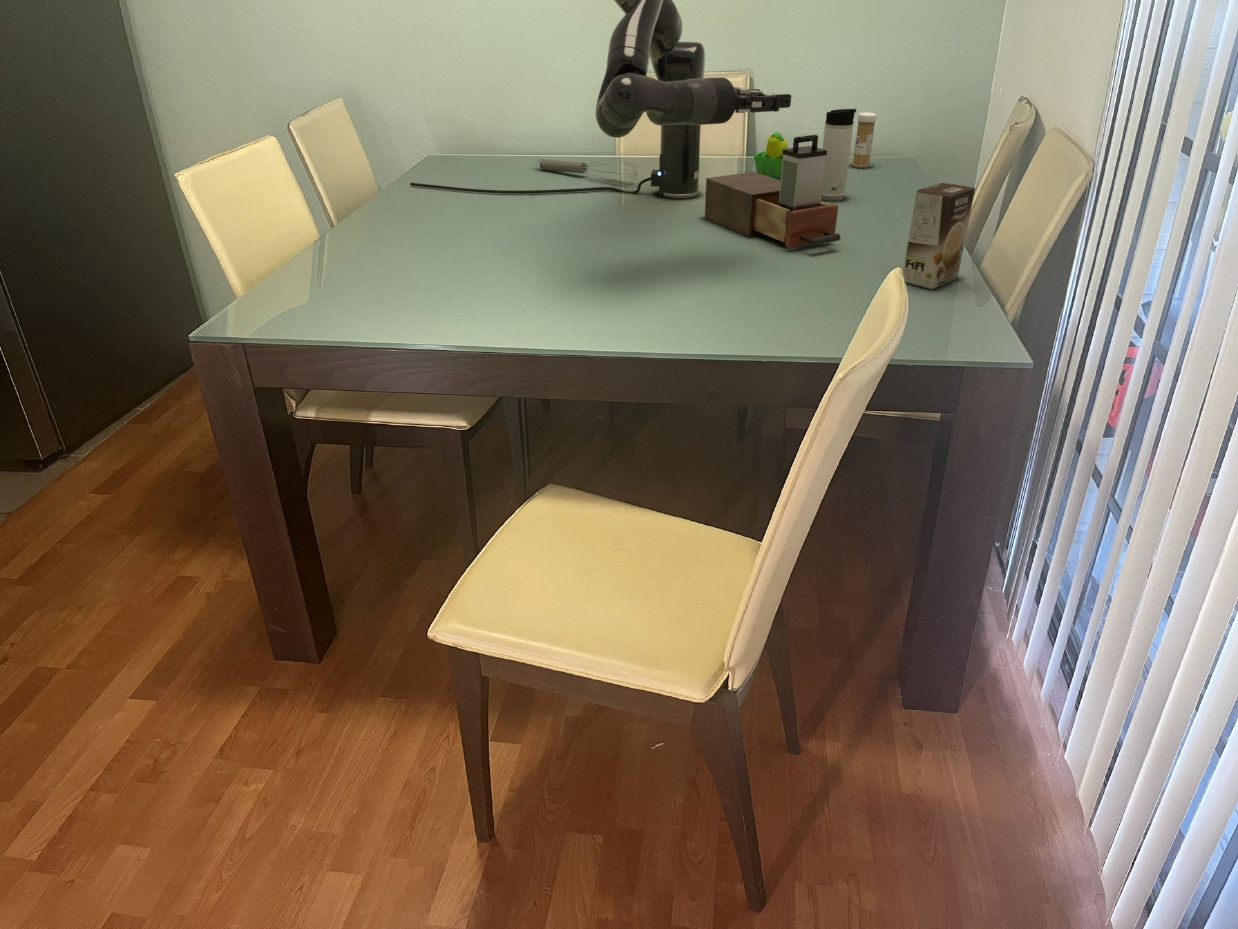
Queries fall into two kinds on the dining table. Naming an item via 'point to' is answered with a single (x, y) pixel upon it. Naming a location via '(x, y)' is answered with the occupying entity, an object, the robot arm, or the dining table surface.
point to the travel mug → (837, 153)
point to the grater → (802, 175)
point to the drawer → (795, 222)
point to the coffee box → (937, 234)
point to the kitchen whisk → (578, 167)
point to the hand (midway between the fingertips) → (774, 97)
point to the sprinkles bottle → (864, 140)
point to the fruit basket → (771, 157)
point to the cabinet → (737, 199)
